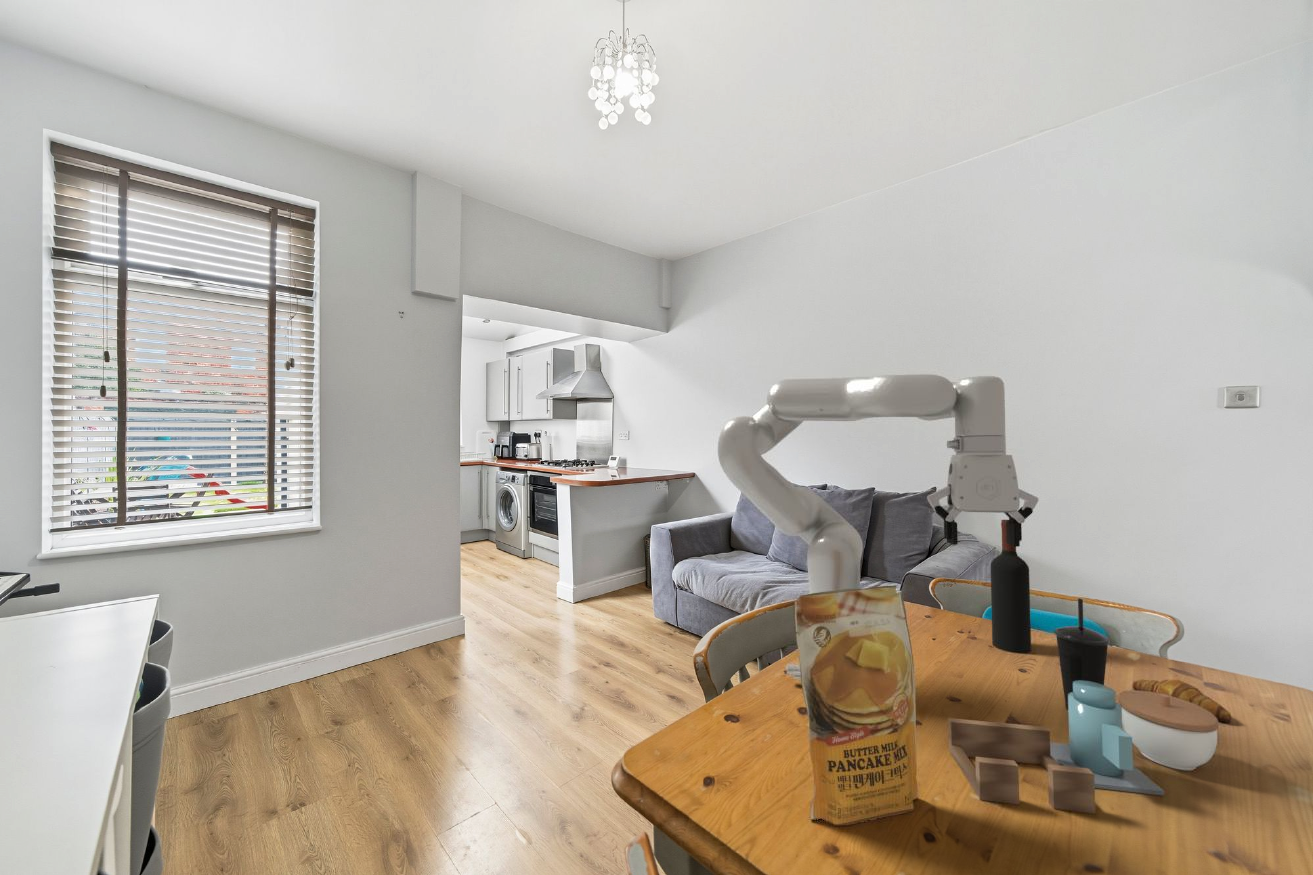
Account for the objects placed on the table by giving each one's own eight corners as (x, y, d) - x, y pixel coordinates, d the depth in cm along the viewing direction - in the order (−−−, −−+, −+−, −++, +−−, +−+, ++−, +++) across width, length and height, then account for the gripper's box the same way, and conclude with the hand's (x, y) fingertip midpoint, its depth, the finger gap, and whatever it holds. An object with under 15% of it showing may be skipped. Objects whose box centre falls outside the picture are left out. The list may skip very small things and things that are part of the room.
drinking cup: (1123, 725, 86) (1119, 606, 86) (1071, 720, 87) (1068, 604, 88) (1094, 703, 93) (1091, 594, 94) (1047, 699, 95) (1044, 592, 95)
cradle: (980, 799, 68) (979, 761, 68) (948, 750, 79) (948, 717, 79) (1095, 813, 65) (1094, 774, 65) (1046, 760, 76) (1045, 726, 76)
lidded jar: (1117, 730, 84) (1115, 673, 85) (1211, 754, 78) (1209, 692, 78) (1122, 761, 76) (1120, 698, 76) (1228, 791, 69) (1225, 721, 69)
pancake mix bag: (783, 799, 68) (780, 589, 69) (903, 776, 73) (899, 580, 73) (809, 836, 61) (806, 604, 62) (940, 808, 66) (936, 592, 67)
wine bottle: (984, 643, 123) (981, 519, 124) (1007, 639, 125) (1005, 517, 126) (1015, 655, 116) (1011, 523, 116) (1039, 650, 118) (1035, 521, 119)
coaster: (1079, 786, 70) (1079, 781, 70) (1040, 745, 80) (1040, 741, 80) (1164, 795, 68) (1164, 791, 68) (1113, 752, 78) (1113, 748, 78)
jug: (1101, 788, 69) (1099, 705, 69) (1060, 749, 78) (1058, 677, 78) (1152, 793, 68) (1149, 709, 68) (1105, 754, 77) (1103, 680, 77)
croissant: (1242, 722, 87) (1241, 693, 87) (1219, 729, 85) (1218, 699, 85) (1144, 688, 100) (1143, 662, 100) (1122, 693, 98) (1122, 667, 98)
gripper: (933, 447, 87) (935, 546, 87) (1047, 446, 84) (1050, 550, 83) (920, 447, 95) (922, 539, 94) (1024, 446, 91) (1026, 542, 91)
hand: (982, 544), depth 89 cm, fingers open, 9 cm apart
